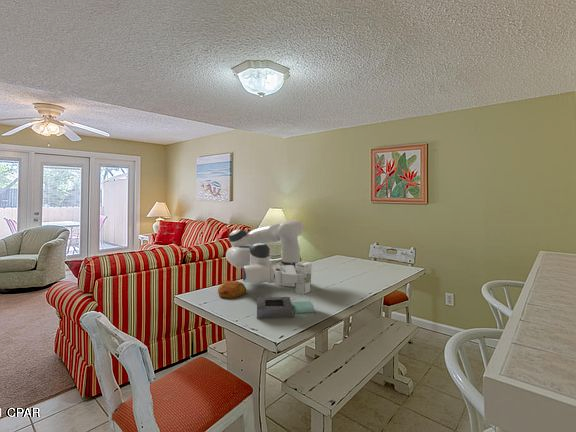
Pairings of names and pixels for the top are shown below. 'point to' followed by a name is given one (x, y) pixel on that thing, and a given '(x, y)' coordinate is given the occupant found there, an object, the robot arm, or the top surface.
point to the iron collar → (274, 307)
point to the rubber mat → (302, 307)
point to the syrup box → (304, 283)
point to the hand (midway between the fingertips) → (304, 273)
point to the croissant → (231, 289)
